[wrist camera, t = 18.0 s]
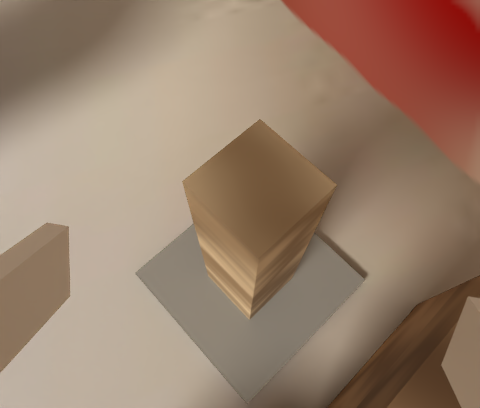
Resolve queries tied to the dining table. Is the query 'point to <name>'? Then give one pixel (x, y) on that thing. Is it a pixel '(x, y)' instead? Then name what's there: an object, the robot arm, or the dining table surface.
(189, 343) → the dining table surface
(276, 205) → the wooden block
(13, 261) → the robot arm
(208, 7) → the dining table surface
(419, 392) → the brown square frame
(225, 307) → the mat
